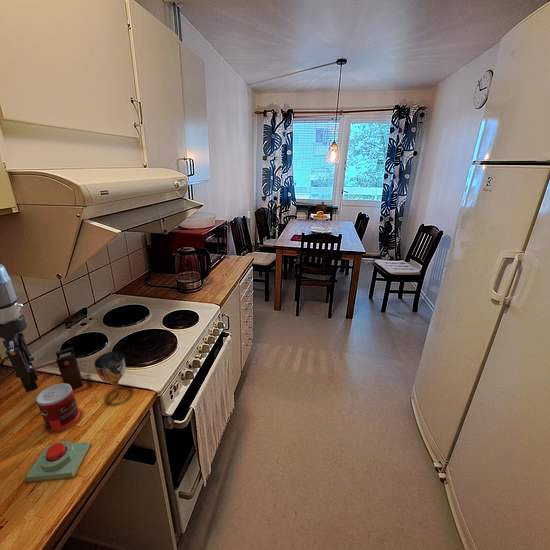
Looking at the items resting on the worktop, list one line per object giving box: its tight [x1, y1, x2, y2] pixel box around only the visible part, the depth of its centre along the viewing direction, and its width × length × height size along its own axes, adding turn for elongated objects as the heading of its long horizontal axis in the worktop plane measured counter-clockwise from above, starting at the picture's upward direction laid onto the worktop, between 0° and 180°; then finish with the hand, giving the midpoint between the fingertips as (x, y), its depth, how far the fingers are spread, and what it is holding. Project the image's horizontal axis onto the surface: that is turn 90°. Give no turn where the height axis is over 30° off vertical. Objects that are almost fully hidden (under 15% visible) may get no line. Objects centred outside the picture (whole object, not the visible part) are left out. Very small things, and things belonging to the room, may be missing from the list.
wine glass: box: [93, 350, 127, 396], centre depth 88 cm, size 8×8×15 cm
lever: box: [28, 352, 71, 372], centre depth 87 cm, size 13×4×4 cm, turn 127°
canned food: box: [36, 382, 81, 431], centre depth 80 cm, size 8×8×11 cm
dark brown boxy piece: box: [55, 347, 84, 391], centre depth 92 cm, size 8×7×14 cm
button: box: [46, 442, 66, 462], centre depth 69 cm, size 4×4×2 cm
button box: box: [25, 440, 90, 483], centre depth 70 cm, size 10×8×4 cm
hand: (32, 385), depth 87 cm, fingers closed on lever, 4 cm apart
